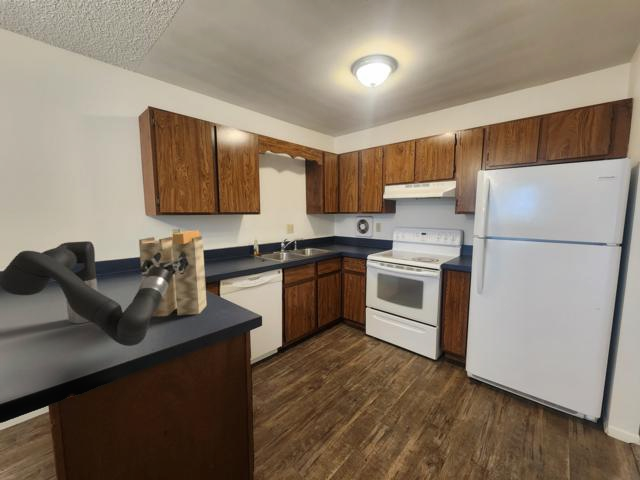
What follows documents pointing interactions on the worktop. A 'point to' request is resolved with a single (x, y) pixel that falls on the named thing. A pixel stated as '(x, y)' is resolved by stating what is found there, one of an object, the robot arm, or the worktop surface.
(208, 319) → the worktop surface
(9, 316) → the worktop surface
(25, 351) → the worktop surface
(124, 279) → the worktop surface
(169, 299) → the rosette post
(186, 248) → the post
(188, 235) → the bracket bar
